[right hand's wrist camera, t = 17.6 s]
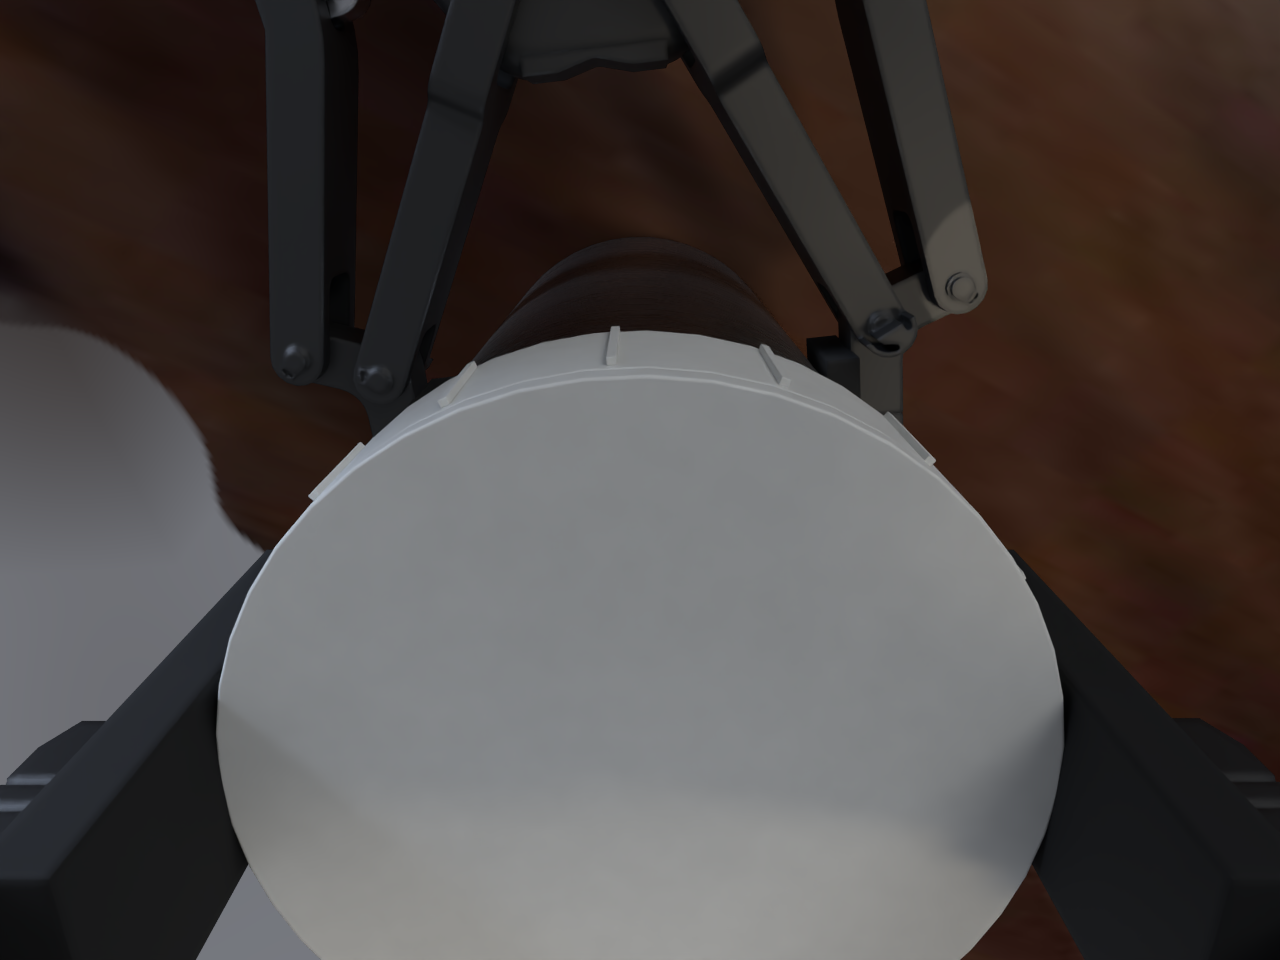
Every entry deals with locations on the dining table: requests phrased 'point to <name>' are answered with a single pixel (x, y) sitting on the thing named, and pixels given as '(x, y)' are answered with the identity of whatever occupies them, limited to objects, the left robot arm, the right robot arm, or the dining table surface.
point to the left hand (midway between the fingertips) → (658, 602)
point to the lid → (640, 676)
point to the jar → (640, 299)
